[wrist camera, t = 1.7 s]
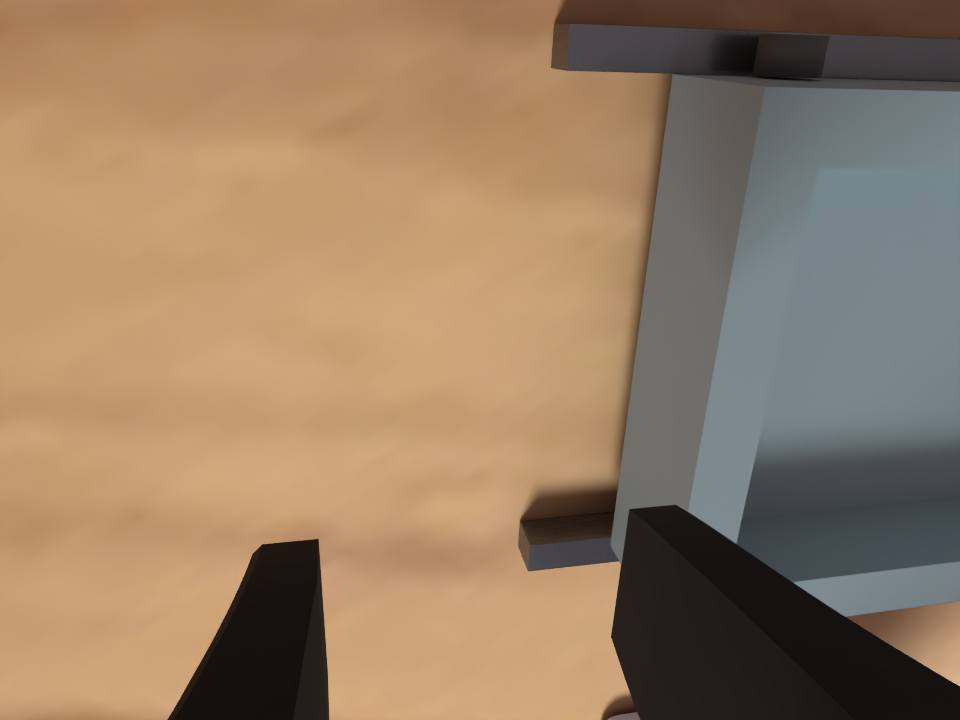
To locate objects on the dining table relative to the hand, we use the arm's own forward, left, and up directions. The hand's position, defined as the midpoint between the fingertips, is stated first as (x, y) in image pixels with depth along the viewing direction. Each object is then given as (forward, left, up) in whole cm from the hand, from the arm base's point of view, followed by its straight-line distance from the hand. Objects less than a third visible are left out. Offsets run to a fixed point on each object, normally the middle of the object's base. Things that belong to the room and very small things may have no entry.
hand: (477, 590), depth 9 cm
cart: (0, -12, -7) cm, 14 cm away
